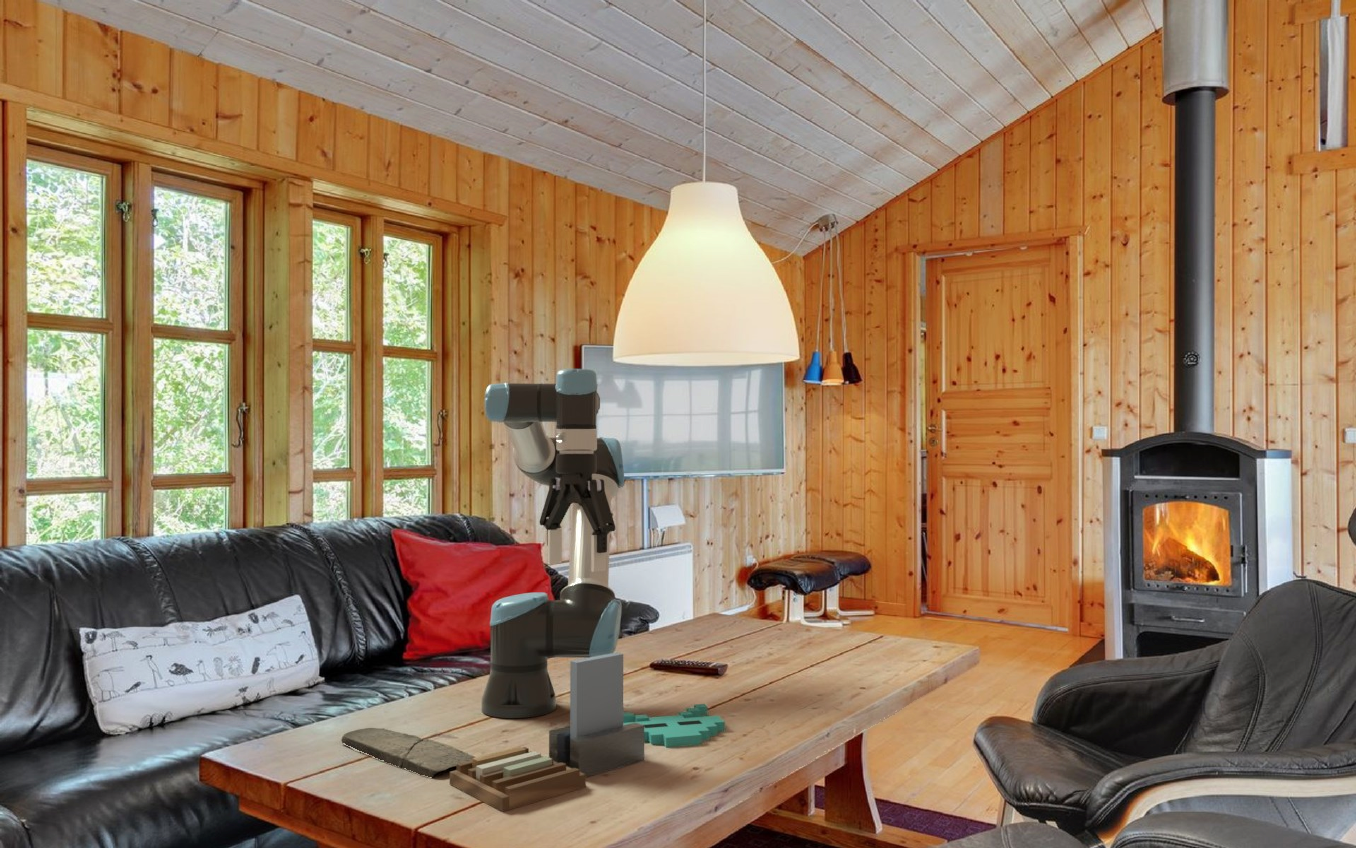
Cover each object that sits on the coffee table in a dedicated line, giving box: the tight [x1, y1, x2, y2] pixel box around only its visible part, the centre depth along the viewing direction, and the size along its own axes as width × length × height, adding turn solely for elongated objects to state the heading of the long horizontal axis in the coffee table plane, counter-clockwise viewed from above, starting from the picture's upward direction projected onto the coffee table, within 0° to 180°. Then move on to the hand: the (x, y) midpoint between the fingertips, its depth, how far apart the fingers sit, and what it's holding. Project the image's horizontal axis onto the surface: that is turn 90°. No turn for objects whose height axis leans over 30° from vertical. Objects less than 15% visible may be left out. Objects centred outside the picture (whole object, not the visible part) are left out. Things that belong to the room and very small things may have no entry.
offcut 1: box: [472, 746, 526, 768], centre depth 158 cm, size 2×9×4 cm, turn 132°
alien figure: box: [623, 703, 726, 748], centre depth 184 cm, size 20×2×20 cm
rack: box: [449, 746, 587, 812], centre depth 154 cm, size 16×15×3 cm
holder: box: [548, 722, 645, 778], centre depth 165 cm, size 8×14×6 cm, turn 132°
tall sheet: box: [569, 652, 624, 739], centre depth 165 cm, size 2×10×17 cm, turn 133°
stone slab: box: [341, 727, 477, 778], centre depth 170 cm, size 10×3×30 cm
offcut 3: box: [503, 756, 552, 778], centre depth 153 cm, size 2×8×4 cm, turn 133°
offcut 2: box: [476, 750, 542, 781], centre depth 155 cm, size 2×11×4 cm, turn 133°
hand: (576, 567), depth 179 cm, fingers open, 13 cm apart
